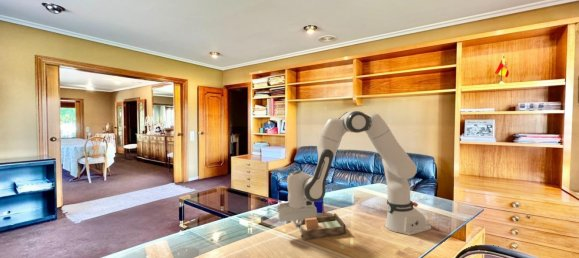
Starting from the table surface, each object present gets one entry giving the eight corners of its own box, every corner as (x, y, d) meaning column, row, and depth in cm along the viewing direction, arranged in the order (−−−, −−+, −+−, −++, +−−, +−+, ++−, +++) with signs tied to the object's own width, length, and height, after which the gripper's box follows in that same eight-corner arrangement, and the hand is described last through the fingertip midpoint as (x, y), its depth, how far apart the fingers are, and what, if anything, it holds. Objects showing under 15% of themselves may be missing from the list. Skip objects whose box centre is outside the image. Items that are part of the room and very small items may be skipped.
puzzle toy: (322, 218, 153) (321, 202, 152) (305, 217, 155) (305, 201, 154) (323, 211, 163) (323, 196, 162) (308, 211, 165) (307, 195, 164)
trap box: (336, 221, 147) (335, 213, 147) (345, 234, 132) (345, 224, 132) (298, 226, 144) (297, 217, 144) (303, 239, 129) (303, 230, 129)
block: (316, 224, 140) (315, 216, 140) (318, 228, 135) (318, 220, 135) (305, 225, 139) (304, 218, 139) (307, 229, 134) (306, 222, 134)
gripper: (277, 206, 130) (279, 232, 131) (316, 201, 133) (318, 227, 134) (276, 201, 137) (278, 226, 138) (313, 197, 140) (315, 221, 141)
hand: (298, 226), depth 136 cm, fingers closed
